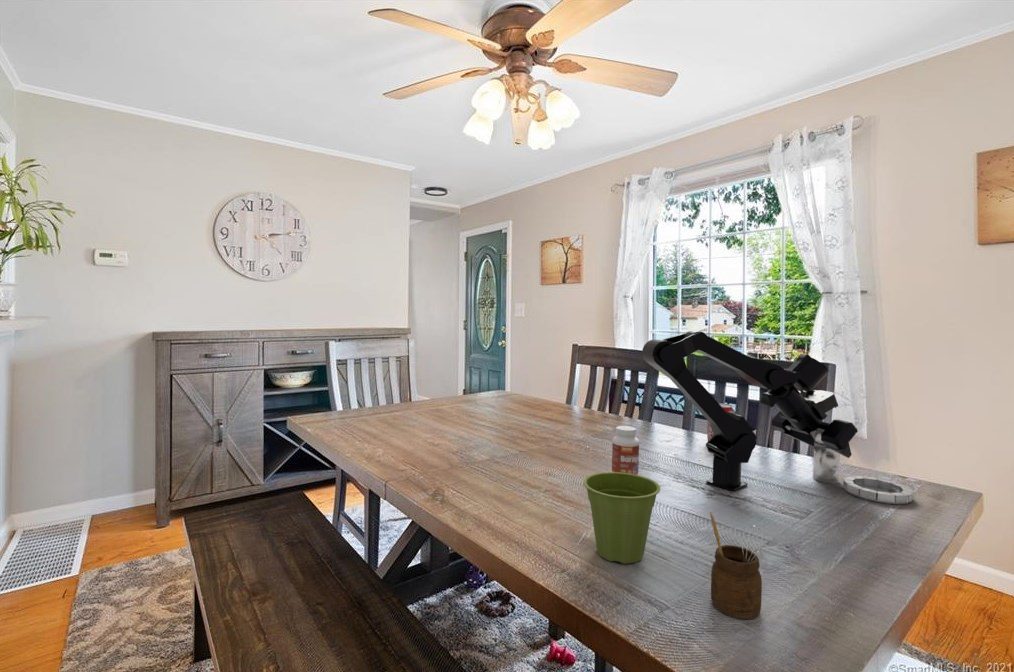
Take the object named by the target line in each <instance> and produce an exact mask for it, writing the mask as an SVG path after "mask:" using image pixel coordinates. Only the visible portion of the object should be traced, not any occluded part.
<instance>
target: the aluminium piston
mask: <svg viewBox="0 0 1014 672" xmlns="http://www.w3.org/2000/svg"><path fill="white" fill-rule="evenodd" d="M821 434H822V433H821V432H818V431H814V437H813V438H814V447H813V464H812V465H813V468H812V469H813V470H812V479H813V480H814V481H816V482H819V483H824V484H831V485H834V484H835V485H836V484H839V483H840V482H839V481H840V460H841V458H840V457H841V454H839V453H837V452H835V451H833V450H831V449H830V448H828V447H826V446H827V445H825V444H824V443H823V442H822V441H821Z"/></svg>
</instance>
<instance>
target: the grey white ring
mask: <svg viewBox="0 0 1014 672" xmlns="http://www.w3.org/2000/svg"><path fill="white" fill-rule="evenodd" d="M842 480H843V481H842V482H843V483H842V486H843V490H844V491H845V492H846V493H848V494H850V495H851V496H854V497H855V498H856V497H857V498H859V499H862V500H866V501H871V502H875V503H879V504H886V505H894V506H895V505H896V506H897V505H903V506H904V505H909V504H911V503H912V502H913V500H914V491H913V490H912V489H911V488H910V487H908V486H906V485H904V484H902V483H898V482H895V481H892V480H888V479H883V478H880V477H878V478H877V477H872V476H871V477H870V476H864V475H855V476H854V475H851V476H847V477H844V478H843V479H842Z"/></svg>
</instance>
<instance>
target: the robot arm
mask: <svg viewBox="0 0 1014 672" xmlns="http://www.w3.org/2000/svg"><path fill="white" fill-rule="evenodd" d="M641 351H642V352H641V356H642V358H643V359H644V362H645V363H647V364H649V366H651V367H653V368H654V369H655V370H656V371H658V372H660V374H662V375H664V376H666V377H667V378H668V379H670V380H671V382H672V383H673V384H674V385H675V387H677V388H678V390H680V392H681V393H682V394H683V395H684V396H685V398H687V400H688V401H690V403H691V404H692V405H693V406H694V407H695V408H696V409H697V410H698V412H699V413H700V414H701V415H702V416H703V417H704V418H705V419H706V420H707V422H708V421H709V423H710V426H711V429H712V432H713V433H714V436H713V437H712V438H711V439H710V440H709V441H708V440H707V441H706V443H705V446H706V450H707V452H708V453H710V454H712V455H713V456H712V457H713V458H712V459H713V460H712V477H711V478H709V479H706V480H705V483H706V484H710V485H712V486H716V487H718V488H722V489H726V490H727V491H728V490H729V491H737V490H739V489H742V488H744V487H747V486H748V482H745V481H742V463H743V464H746V463H749V461H750V458H751V456H752V453H753V450H754V449H755V448H756V446H757V440H758V437H757V435H756V433H755V431H756V428H754V427H752V426H751V425H750V424H749V423H748V421H747V419H746V418H745V417H744V416H742V415H739V414H737V413H735V412H734V413H732V412H729V411H728V412H726V411H725V410H724V409H723V408H722V407H721V405H720V404H719V403H720V402H718V401H717V399H715V398H714V396H713V395H712V394H711V392H709V391H708V389H706V388H705V387H704V385H703V384H701V381H699V379H697V377H696V376H695V375H694V374H693V373H692V372H691V371H690V370H689V369H688V366H687V364H686V361H685V358H686V357H688V356H690V355H691V354H694V353H695V352H698V353H700V354H702V355H703V356H705V357H708V358H710V359H712V360H714V361H716V362H718V363H720V364H722V365H724V366H726V367H728V368H729V369H732V370H734V371H735V372H736V373H737V374H738V375H739V376H740V377H741V378H742V379H744V380H745V381H746V382H747V383H749V384H750V385H752V386H754V387H758V388H761V389H762V388H763V389H766V390H767V392H762V393H761V397H760V401H759V402H760V404H762V405H764V406H766V407H770V408H773V407H774V406H776V408H777V409H778V412H777V413H776V415H775V416H774V417H773V418H772V419H771V426H772V427H773V428H774V430H775V431H777V432H780V433H781V434H784V435H786V436H788V437H791V438H793V439H795V440H797V441H799V442H802V443H804V444H805V445H808V446H811V447H813V448H814V438H815V437H814V436H813V435H812V432H815V431H818V432H821V433H822V434H821V441H822V442H823V443H824V444H825V445H827V446H826V447H828V448H830V449H831V450H833V451H835V452H837V453H839V454H840V456H843V457H845V458H848V459H850V458H851V457H852V455H853V454H852V452H851V451H852V449H851V447H850V441H852V439H853V438H854V436H856V434H857V433H858V431H859V430H858V427H856V425H855V424H854V423H853V422H850V421H848V420H847V421H846V420H842V419H833V420H832V421H831V422H830V423H829V422H825V421H824V420H826V418H827V417H828V414H827V413H828V412H829V411H831V410H833V409H835V408H838V407H839V404H838V401H837V398H836V395H835V392H832V391H827V390H823V389H821V390H820V389H819V390H816V389H814V388H815V387H816V386H817V385H818V384H819V383H820V382H821V381H822V380H823V379H824V378H825V377H826V376H827V375H828V374H829V373H830V371H829V369H828V367H827V366H826V364H824V363H822V362H820V361H819V360H817V359H816V358H813V357H811V355H810V354H808V353H800V354H799V355H798V356H797V357H796V359H795V361H794V362H793V363H792V364H791V365H789V367H788V368H787V369H786V368H784V367H783V366H781V365H779V364H777V363H773V362H770V361H767V360H763V359H758V358H754V357H751V356H748V355H747V354H744V353H742V352H741V351H738V350H737V349H734V348H733V347H730V346H729V345H727V344H725V343H722V342H720V341H719V340H717V339H715V338H713V337H711V336H709V335H707V334H706V333H705V332H704V331H700V330H688V331H686V332H685V333H681V334H678V335H674V336H671V337H666V338H663V339H650V340H648V341H647V342H645V344H644V345H643V347H642V350H641ZM813 389H814V390H813ZM822 420H823V421H822Z"/></svg>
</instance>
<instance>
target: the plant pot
mask: <svg viewBox="0 0 1014 672" xmlns="http://www.w3.org/2000/svg"><path fill="white" fill-rule="evenodd" d="M582 483H583V486H584V487H585V488H586V490H587V498H588V501H589V504H590V511H591V517H592V523H593V524H592V525H593V532H594V539H595V545H596V552H597V553H598V554H599V556H600V557H602V558H603V559H605V560H607V561H610V562H618V563H619V562H620V563H621V564H625V565H627V564H633V563H637V562H639V561H641V560H642V559H643V557H644V554H645V550H646V544H647V538H648V534H649V533H648V532H649V527H650V522H651V517H652V513H653V508H654V507H655V503H656V499H657V498H656V497H657V495H658V494H659V493H660V492H661V485H660V484H659V483H658V482H656V481H655V480H653V479H652V478H649V477H645V476H642V475H639V474H638V475H634V474H629V473H619V472H612V471H608V472H607V471H606V472H596V473H593V474H592V473H591V474H590V475H587V476H586V477H584V479H583V481H582Z"/></svg>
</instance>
